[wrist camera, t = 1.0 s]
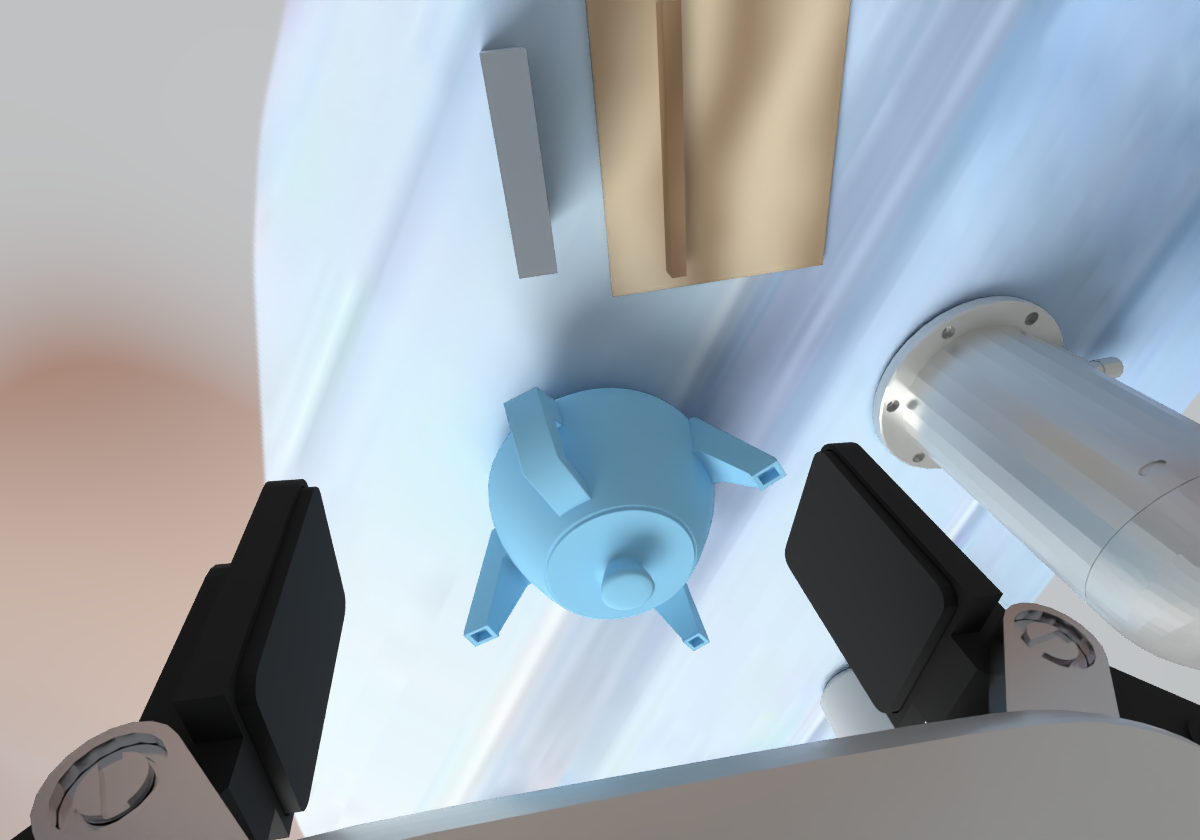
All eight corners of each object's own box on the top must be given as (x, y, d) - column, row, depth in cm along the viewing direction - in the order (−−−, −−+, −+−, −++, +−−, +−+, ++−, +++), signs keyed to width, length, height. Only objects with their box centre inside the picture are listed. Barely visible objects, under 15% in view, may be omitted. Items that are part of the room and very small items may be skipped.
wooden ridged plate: (850, -47, 27) (870, -52, 25) (819, 262, 34) (832, 271, 33) (583, -17, 26) (589, -21, 24) (612, 294, 33) (617, 304, 32)
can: (888, 694, 60) (969, 824, 50) (817, 715, 60) (883, 850, 50) (891, 650, 56) (979, 782, 46) (814, 672, 56) (886, 810, 46)
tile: (517, 46, 26) (526, 47, 21) (543, 229, 31) (557, 273, 25) (481, 51, 26) (479, 53, 21) (512, 233, 31) (519, 278, 25)
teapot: (745, 385, 38) (825, 491, 29) (672, 559, 45) (718, 687, 36) (503, 344, 34) (509, 453, 25) (465, 543, 41) (459, 683, 32)
